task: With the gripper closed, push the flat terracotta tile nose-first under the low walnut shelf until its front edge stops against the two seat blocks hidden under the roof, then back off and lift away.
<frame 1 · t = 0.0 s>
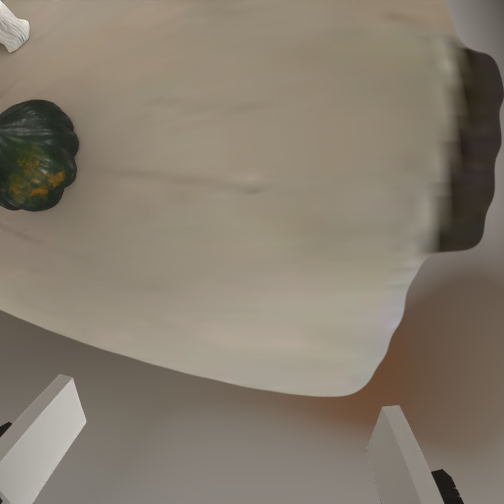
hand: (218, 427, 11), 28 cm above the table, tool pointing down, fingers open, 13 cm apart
shell sculpture: (21, 37, 32), on the table
squash: (53, 156, 37), on the table
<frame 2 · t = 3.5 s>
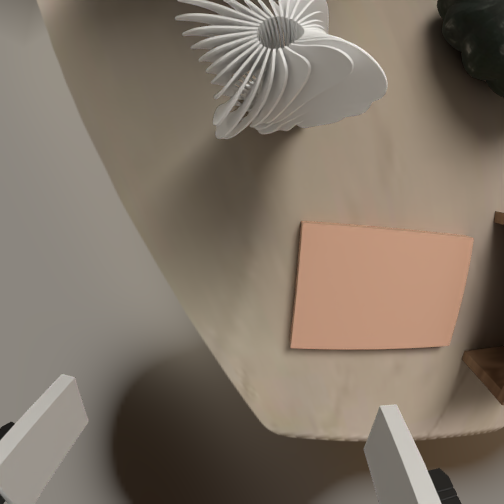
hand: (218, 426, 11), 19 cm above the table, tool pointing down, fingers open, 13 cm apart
shell sculpture: (272, 108, 26), on the table
tile: (383, 286, 30), on the table
squash: (476, 47, 22), on the table
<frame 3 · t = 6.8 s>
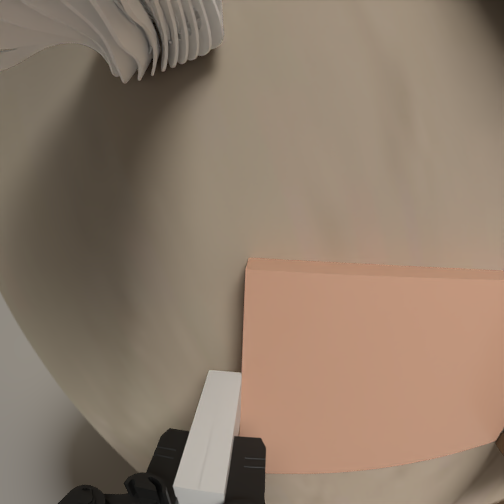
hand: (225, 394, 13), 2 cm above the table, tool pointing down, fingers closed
shell sculpture: (161, 40, 12), on the table
tile: (410, 372, 15), on the table
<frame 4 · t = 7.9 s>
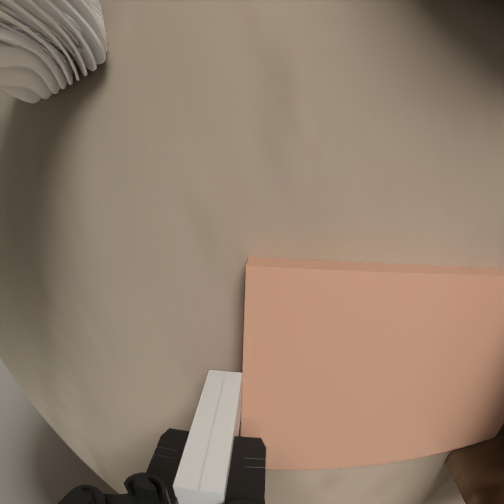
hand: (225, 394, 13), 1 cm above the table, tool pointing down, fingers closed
shell sculpture: (69, 59, 12), on the table
tile: (409, 367, 15), on the table
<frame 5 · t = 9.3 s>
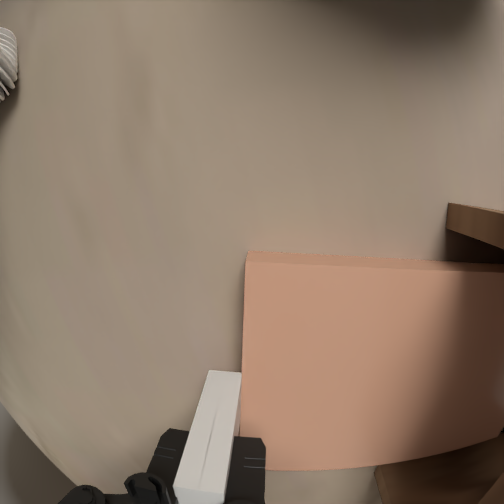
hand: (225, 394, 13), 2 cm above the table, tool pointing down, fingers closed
tile: (411, 366, 15), on the table
shelf: (502, 360, 14), on the table
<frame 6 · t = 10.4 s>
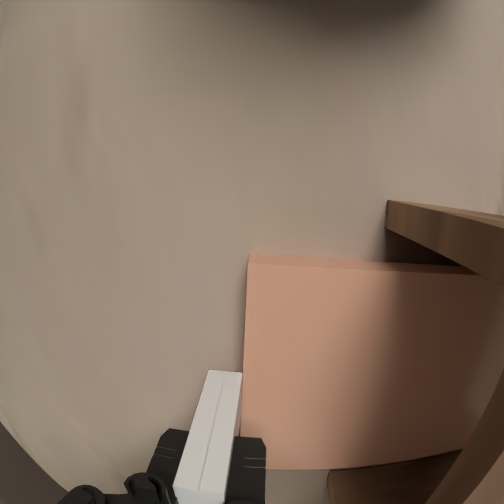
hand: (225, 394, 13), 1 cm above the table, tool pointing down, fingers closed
tile: (410, 368, 15), on the table
shelf: (464, 371, 14), on the table
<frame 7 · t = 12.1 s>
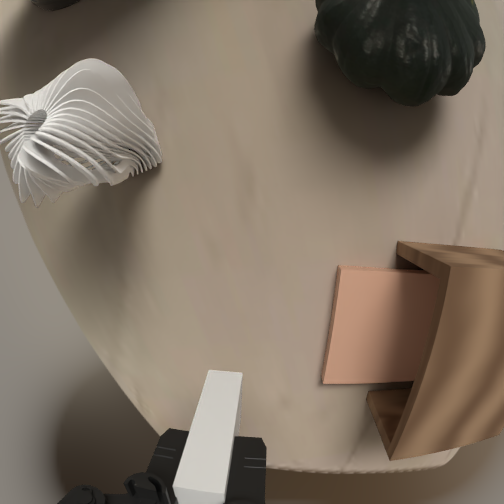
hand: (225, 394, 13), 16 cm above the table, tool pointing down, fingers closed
shell sculpture: (136, 153, 28), on the table
tile: (409, 324, 30), on the table
squash: (380, 49, 24), on the table
shelf: (439, 327, 29), on the table
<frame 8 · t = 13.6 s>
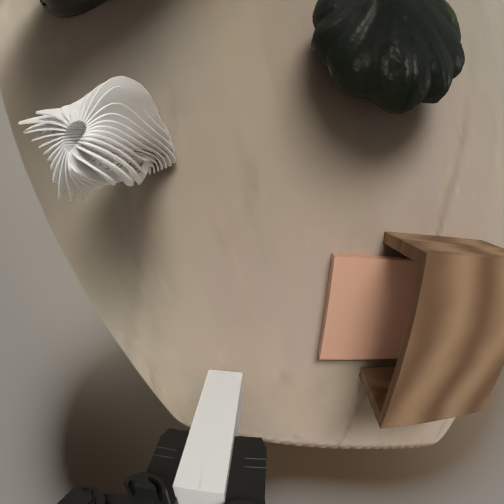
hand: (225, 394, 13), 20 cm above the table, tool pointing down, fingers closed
shell sculpture: (152, 154, 31), on the table
tile: (397, 306, 34), on the table
squash: (371, 59, 28), on the table
shelf: (425, 310, 33), on the table
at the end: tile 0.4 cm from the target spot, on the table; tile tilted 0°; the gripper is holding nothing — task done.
